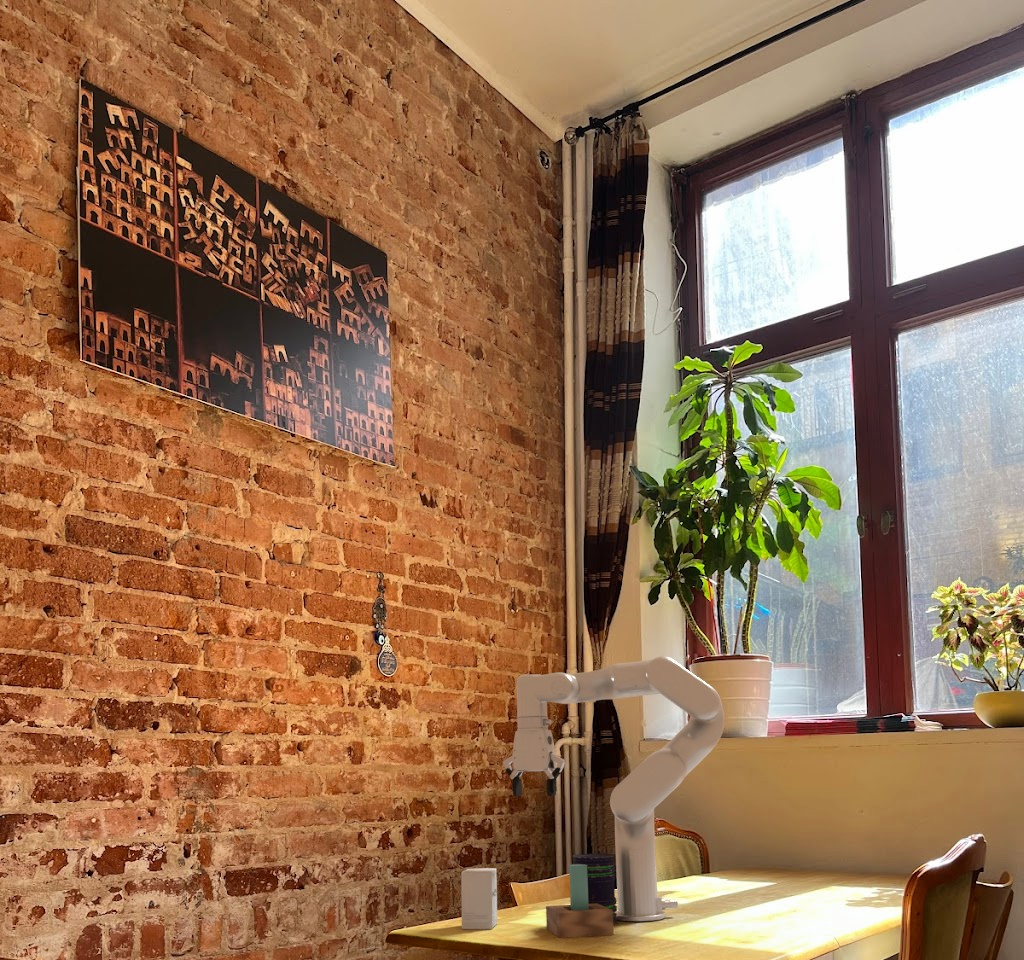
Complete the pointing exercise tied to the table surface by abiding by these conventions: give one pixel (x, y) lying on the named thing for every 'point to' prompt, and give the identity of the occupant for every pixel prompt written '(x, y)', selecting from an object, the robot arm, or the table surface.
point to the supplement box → (479, 898)
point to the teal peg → (578, 887)
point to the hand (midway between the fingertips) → (534, 795)
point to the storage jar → (600, 879)
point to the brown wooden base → (579, 921)
